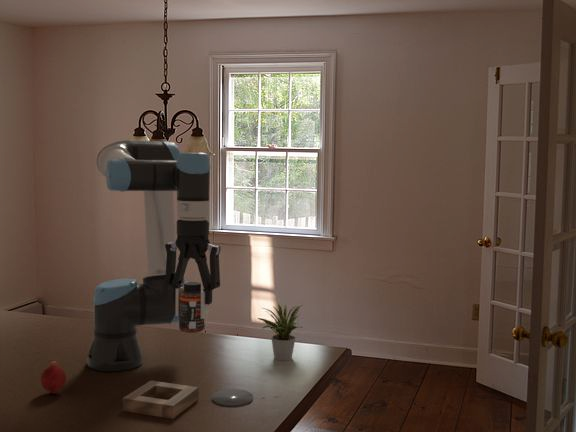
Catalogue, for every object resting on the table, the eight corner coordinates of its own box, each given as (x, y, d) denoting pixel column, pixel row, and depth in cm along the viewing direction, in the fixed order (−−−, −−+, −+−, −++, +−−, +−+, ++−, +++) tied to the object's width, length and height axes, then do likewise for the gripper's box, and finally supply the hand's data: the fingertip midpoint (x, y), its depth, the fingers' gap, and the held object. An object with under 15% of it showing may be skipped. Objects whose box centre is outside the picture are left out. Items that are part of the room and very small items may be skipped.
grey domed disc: (205, 402, 163) (205, 400, 163) (221, 389, 172) (221, 386, 172) (243, 408, 160) (244, 406, 160) (258, 394, 169) (258, 392, 169)
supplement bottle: (198, 334, 157) (199, 286, 156) (174, 332, 159) (175, 284, 158) (208, 328, 163) (208, 281, 162) (185, 326, 164) (185, 280, 163)
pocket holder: (122, 410, 157) (122, 398, 156) (150, 392, 169) (150, 380, 169) (173, 418, 153) (173, 405, 152) (198, 399, 165) (198, 387, 165)
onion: (51, 399, 163) (51, 367, 162) (35, 394, 166) (35, 362, 165) (71, 392, 168) (70, 360, 167) (55, 387, 171) (55, 356, 170)
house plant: (281, 346, 211) (282, 295, 209) (317, 356, 202) (318, 302, 200) (250, 357, 200) (251, 302, 198) (286, 367, 191) (288, 310, 189)
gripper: (149, 217, 158) (148, 315, 160) (222, 222, 152) (221, 323, 154) (165, 215, 165) (165, 309, 167) (236, 219, 159) (235, 316, 161)
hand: (192, 316), depth 161 cm, fingers closed on supplement bottle, 6 cm apart
